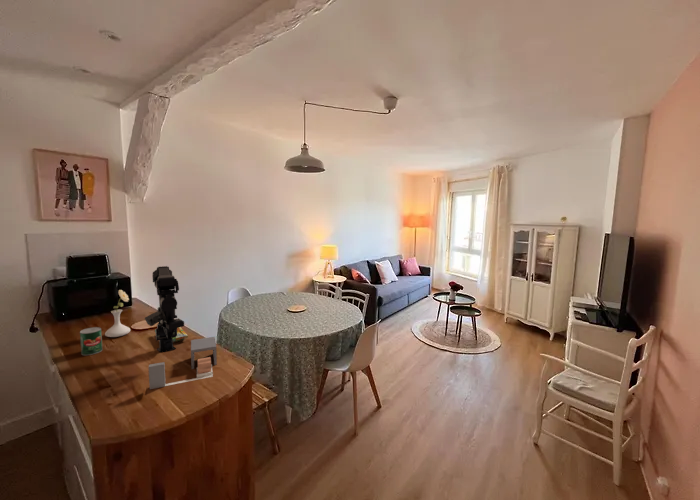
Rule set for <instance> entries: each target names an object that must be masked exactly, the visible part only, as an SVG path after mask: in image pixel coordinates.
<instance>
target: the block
mask: <svg viewBox="0 0 700 500" xmlns="http://www.w3.org/2000/svg"><path fill="white" fill-rule="evenodd" d="M211 365H212V358H211V356H209V357H208V356H207V357H203V358H198V359H197V367H198V374H201V373H206V372H211Z"/></svg>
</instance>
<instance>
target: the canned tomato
mask: <svg viewBox="0 0 700 500" xmlns="http://www.w3.org/2000/svg"><path fill="white" fill-rule="evenodd" d="M79 336H80V338H79V339H80V354H81V355H82V356H91V355H95V354H99V353H101V352H102V351H103V336H102V328H101V327H100V326H94V327H87V328H84V329H81V330H80V331H79Z"/></svg>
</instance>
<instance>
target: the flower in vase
mask: <svg viewBox="0 0 700 500" xmlns="http://www.w3.org/2000/svg"><path fill="white" fill-rule="evenodd" d="M118 295H119V297H120V298H119V299H118V303H117V305H114V306H113V309H114V310H111V311H110V312H111V314H112V315H113V318H114V324H113V325H112V326H111V327H109V328H108V329H107V330H106V331H105V333H104V336H105V337H108V338H117V337H122V336H126V335H127V334H129V333H130V332H131V328H130V327H129V326H127V325H124V324H122V323H121V320H120V319H121V313H122V312H123V309H118V308H119V307H121V308H122V307H124V303H123V302H125V303H128V302H129V301H130V298H129V295H128V294H127V293H126V291H124V290H122V289H119V290H118ZM121 300H122V301H123V302H121Z"/></svg>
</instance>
